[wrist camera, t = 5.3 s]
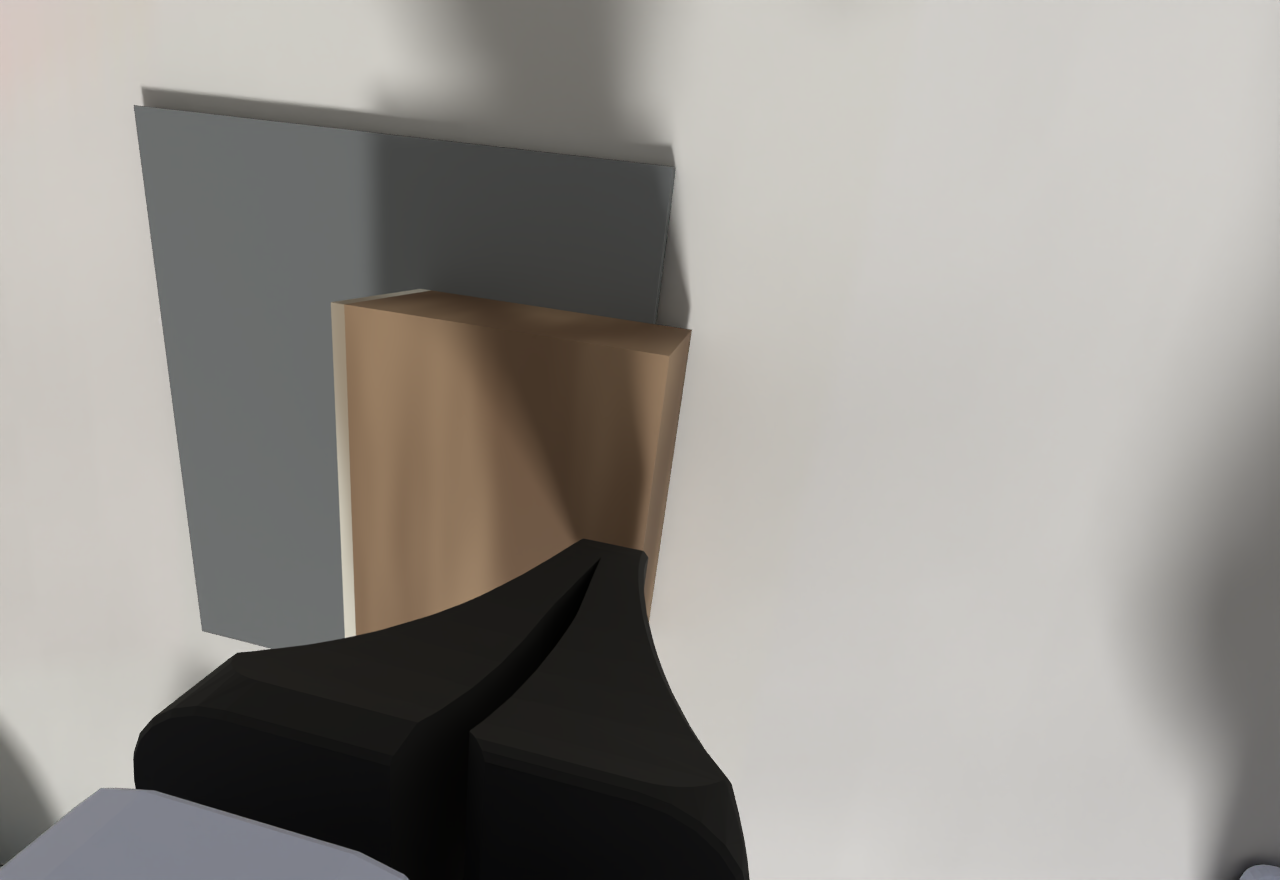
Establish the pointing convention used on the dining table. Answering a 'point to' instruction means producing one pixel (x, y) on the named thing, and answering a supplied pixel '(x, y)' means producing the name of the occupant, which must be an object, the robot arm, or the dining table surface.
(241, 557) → the mat
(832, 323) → the dining table surface
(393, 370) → the two-tone wooden block
